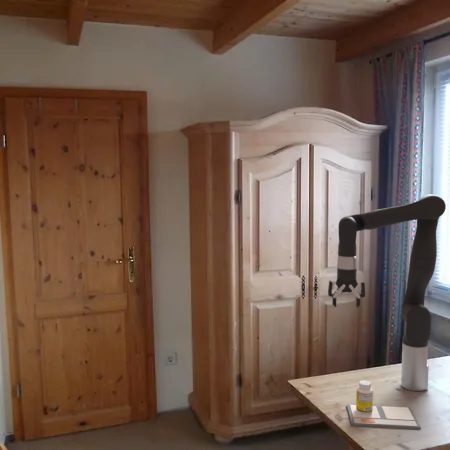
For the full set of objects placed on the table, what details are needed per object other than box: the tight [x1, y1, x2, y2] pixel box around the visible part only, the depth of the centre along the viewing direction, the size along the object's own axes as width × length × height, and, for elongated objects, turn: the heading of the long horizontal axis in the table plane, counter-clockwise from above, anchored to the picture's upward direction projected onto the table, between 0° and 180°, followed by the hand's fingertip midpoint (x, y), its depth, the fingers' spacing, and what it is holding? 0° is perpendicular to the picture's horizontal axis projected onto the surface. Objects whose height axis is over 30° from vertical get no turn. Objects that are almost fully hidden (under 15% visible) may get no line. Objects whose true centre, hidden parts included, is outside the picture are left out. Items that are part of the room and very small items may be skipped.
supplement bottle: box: [355, 380, 374, 414], centre depth 174 cm, size 6×6×10 cm
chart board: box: [346, 403, 422, 430], centre depth 172 cm, size 22×14×1 cm, turn 83°
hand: (346, 306), depth 201 cm, fingers open, 8 cm apart
